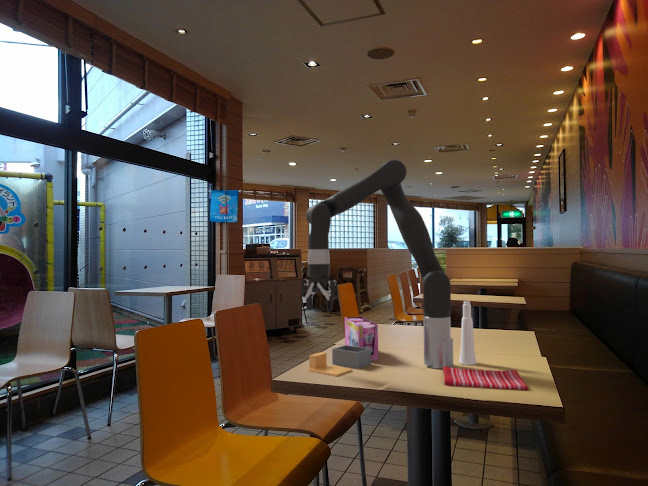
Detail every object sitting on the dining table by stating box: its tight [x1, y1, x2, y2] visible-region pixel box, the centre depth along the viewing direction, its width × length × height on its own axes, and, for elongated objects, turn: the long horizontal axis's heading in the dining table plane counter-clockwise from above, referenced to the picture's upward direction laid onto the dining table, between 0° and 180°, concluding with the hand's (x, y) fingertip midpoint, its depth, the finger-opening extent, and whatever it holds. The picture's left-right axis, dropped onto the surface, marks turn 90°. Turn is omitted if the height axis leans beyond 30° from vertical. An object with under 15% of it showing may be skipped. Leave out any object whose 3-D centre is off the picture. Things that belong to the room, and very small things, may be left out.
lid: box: [308, 351, 353, 378], centre depth 153 cm, size 12×9×6 cm
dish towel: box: [442, 366, 529, 391], centre depth 142 cm, size 17×24×3 cm
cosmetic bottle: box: [458, 300, 478, 366], centre depth 165 cm, size 6×6×22 cm
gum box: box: [344, 316, 379, 361], centre depth 178 cm, size 24×8×14 cm, turn 10°
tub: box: [331, 344, 372, 370], centre depth 162 cm, size 11×8×6 cm
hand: (319, 310), depth 156 cm, fingers open, 8 cm apart
